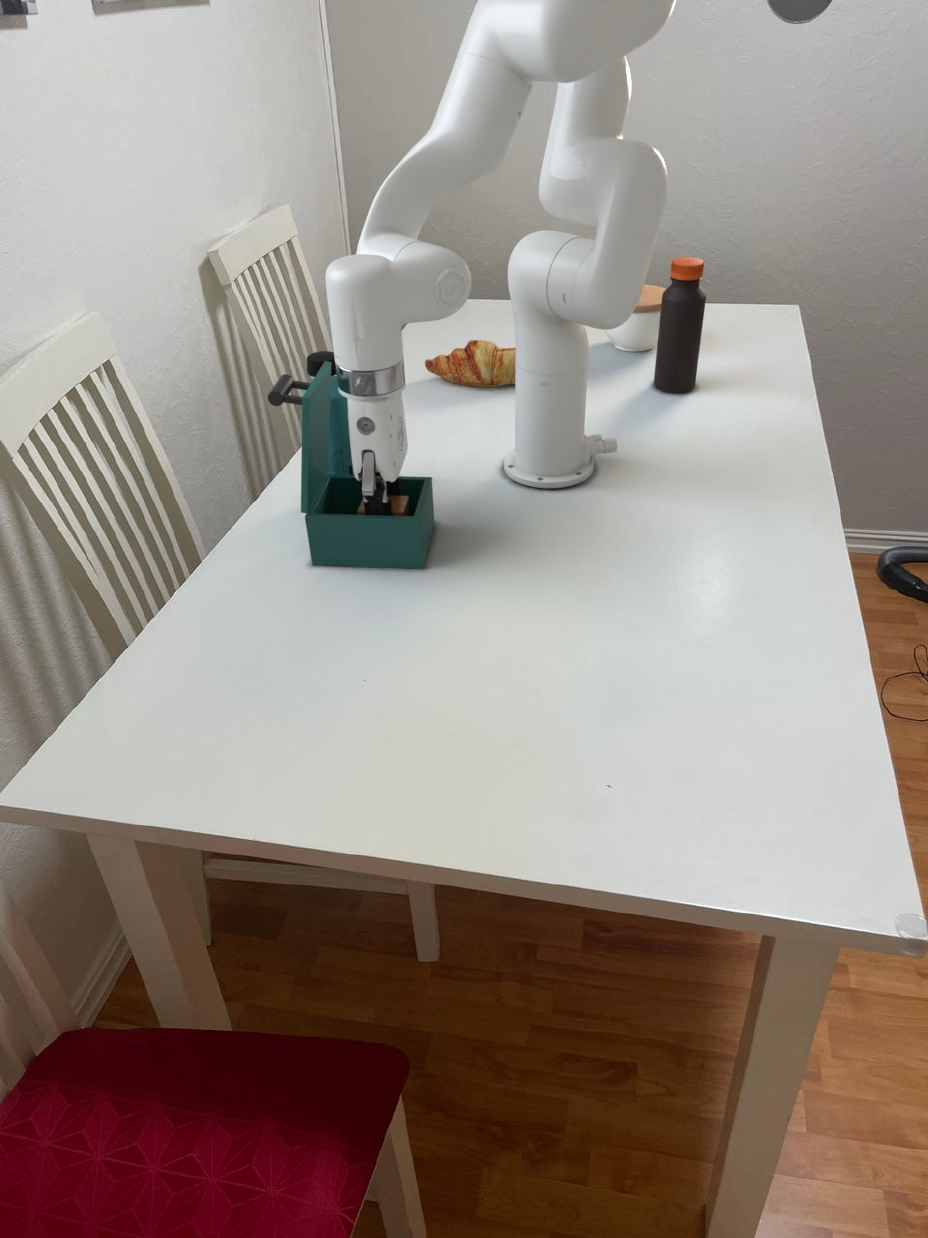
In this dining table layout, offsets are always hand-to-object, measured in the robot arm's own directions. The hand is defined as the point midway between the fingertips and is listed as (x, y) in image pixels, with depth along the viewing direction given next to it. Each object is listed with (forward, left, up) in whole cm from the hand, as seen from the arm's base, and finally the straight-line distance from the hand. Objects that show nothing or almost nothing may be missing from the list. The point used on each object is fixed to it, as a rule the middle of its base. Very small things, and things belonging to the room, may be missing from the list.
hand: (384, 516), depth 112 cm
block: (0, 0, -3) cm, 3 cm away
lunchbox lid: (+6, -2, +10) cm, 12 cm away
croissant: (-26, -47, -4) cm, 54 cm away
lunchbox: (+1, 0, -4) cm, 4 cm away
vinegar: (-55, -35, -4) cm, 65 cm away
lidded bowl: (-56, -55, -4) cm, 79 cm away
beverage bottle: (+4, -13, -4) cm, 15 cm away
